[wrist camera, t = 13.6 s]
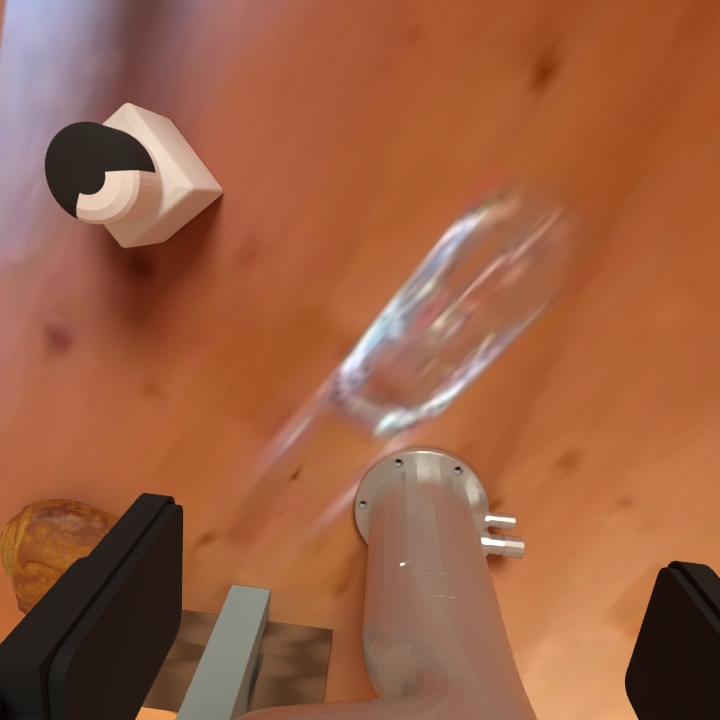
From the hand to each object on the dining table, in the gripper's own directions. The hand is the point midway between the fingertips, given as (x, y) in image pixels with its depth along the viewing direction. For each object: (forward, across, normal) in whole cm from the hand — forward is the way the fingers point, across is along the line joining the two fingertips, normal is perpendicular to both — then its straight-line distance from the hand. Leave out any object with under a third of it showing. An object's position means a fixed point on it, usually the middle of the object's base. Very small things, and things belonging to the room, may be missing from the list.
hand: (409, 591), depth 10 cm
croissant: (+37, +28, +30) cm, 55 cm away
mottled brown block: (+36, +11, +38) cm, 54 cm away
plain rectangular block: (+36, +11, +38) cm, 54 cm away
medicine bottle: (+37, +20, -7) cm, 42 cm away
